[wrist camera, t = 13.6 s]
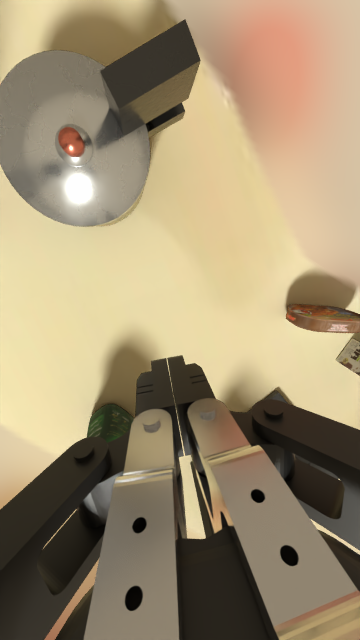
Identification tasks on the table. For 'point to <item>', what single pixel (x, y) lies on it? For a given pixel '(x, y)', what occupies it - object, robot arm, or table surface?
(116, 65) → the lid
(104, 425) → the coffee jar
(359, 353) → the coffee box
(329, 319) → the tin
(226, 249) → the table surface
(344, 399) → the table surface
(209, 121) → the table surface
